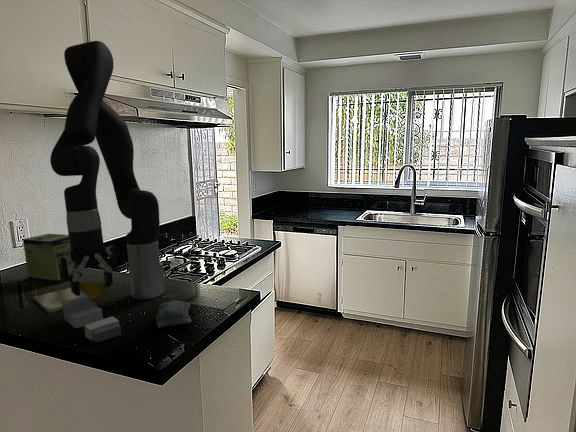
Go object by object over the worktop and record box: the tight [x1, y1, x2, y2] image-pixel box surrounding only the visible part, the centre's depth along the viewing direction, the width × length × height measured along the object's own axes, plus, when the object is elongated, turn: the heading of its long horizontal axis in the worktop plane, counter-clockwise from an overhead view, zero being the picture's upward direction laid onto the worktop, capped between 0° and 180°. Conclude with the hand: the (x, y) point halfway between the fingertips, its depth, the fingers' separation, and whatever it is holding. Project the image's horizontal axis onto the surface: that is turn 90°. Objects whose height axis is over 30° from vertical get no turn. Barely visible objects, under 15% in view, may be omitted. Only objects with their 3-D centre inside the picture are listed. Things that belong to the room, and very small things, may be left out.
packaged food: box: [155, 299, 192, 328], centre depth 109 cm, size 9×12×5 cm
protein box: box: [22, 233, 83, 285], centre depth 150 cm, size 10×16×16 cm
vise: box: [62, 294, 122, 343], centre depth 108 cm, size 7×22×5 cm, turn 45°
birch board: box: [33, 287, 87, 314], centre depth 128 cm, size 12×16×1 cm
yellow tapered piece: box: [79, 281, 111, 304], centre depth 106 cm, size 5×5×10 cm
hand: (93, 290), depth 105 cm, fingers closed on yellow tapered piece, 7 cm apart
